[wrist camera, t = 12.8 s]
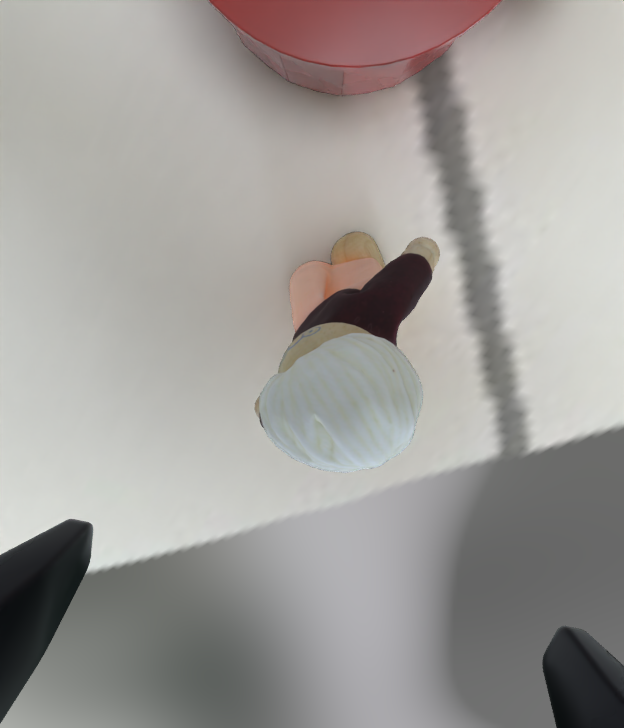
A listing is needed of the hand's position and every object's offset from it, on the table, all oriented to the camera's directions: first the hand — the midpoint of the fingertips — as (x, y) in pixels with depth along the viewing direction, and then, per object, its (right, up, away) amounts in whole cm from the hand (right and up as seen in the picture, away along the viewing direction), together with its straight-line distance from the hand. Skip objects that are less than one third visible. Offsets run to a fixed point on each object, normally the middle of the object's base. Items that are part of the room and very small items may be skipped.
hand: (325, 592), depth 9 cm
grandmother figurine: (+1, +7, +12) cm, 14 cm away
